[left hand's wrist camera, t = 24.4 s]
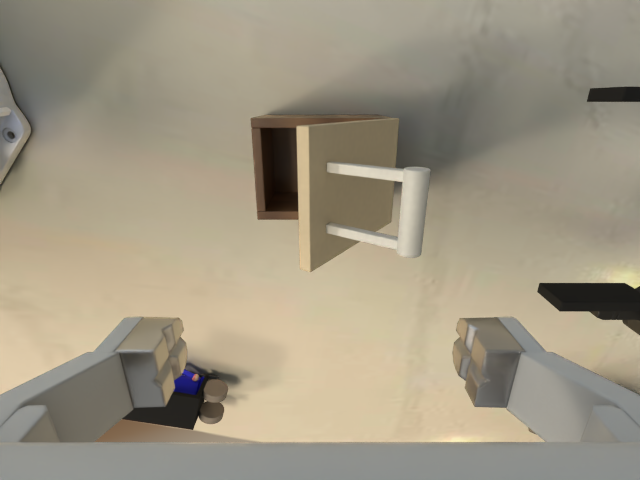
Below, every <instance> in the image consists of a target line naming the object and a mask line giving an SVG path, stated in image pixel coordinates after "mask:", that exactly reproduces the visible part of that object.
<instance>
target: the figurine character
mask: <svg viewBox="0 0 640 480" xmlns="http://www.w3.org/2000/svg"><path fill="white" fill-rule="evenodd" d="M182 374H183V375H181V376H180V377H179V378H177V379H176V380H174V384H175V389H174V391H173V393H172V395H171V397H170V399H169V401H168V403H167V405H166V406H165V407H140V408H133V410H132V411H131V412H130V413H128V414H127V415H126V416H125V417H124V418H122V419H125V420H132V421H138V422H145V423H152V424H158V425H165V426H171V427H178V428H185V429H191V430H193V428H194V425H195V423H196V420H197V418H198V416H199V418H200V420H201V421H202V422H204V423H207V424H215V423H218V422H219V421H220V420H221V419H222V417H223V413H224V407H223V405H222V404H221V403H219V402H221V401H223V400H224V399H225V398H226V395H227V391H228V386H227V384H226V383H225V382H223V381H221V380H217V379H218V378H219V377H218V376H215V375H206V374H201V375H198V374H194V373H191V372H189V371H187V370H185V369H184V371H183V373H182ZM199 376H200V377H201V379H200V377H199ZM209 379H213V380H209ZM208 380H209V381H208ZM204 399H205V400H206V402H204Z"/></svg>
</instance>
